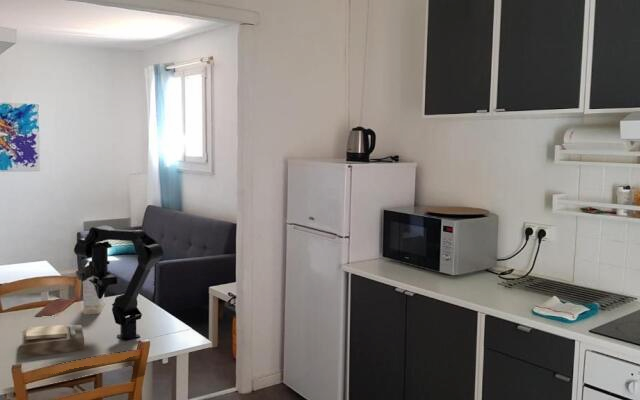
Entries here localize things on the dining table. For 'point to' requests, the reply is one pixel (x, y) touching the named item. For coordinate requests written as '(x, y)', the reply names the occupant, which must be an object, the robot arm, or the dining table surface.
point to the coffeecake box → (91, 298)
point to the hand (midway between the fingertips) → (99, 298)
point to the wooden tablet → (55, 307)
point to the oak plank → (46, 332)
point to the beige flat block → (54, 343)
